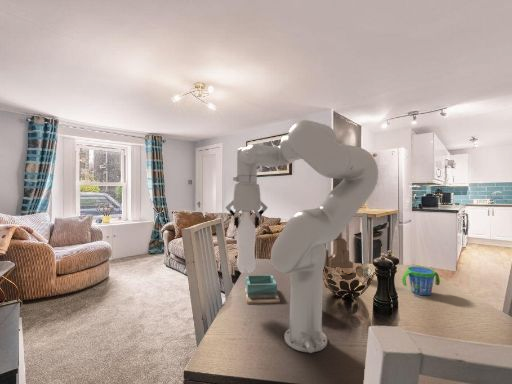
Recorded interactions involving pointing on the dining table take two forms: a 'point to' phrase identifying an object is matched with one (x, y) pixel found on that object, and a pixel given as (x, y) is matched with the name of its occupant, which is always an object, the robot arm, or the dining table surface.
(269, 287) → the bottle stand
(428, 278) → the snack cup
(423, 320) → the dining table surface
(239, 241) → the water bottle
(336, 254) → the wooden toy
